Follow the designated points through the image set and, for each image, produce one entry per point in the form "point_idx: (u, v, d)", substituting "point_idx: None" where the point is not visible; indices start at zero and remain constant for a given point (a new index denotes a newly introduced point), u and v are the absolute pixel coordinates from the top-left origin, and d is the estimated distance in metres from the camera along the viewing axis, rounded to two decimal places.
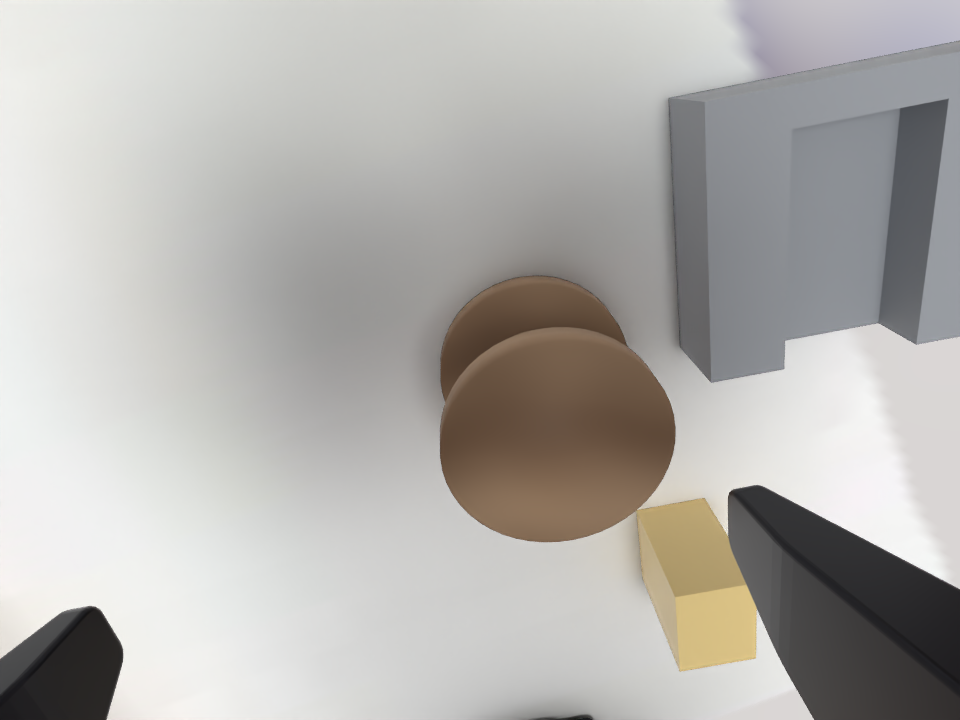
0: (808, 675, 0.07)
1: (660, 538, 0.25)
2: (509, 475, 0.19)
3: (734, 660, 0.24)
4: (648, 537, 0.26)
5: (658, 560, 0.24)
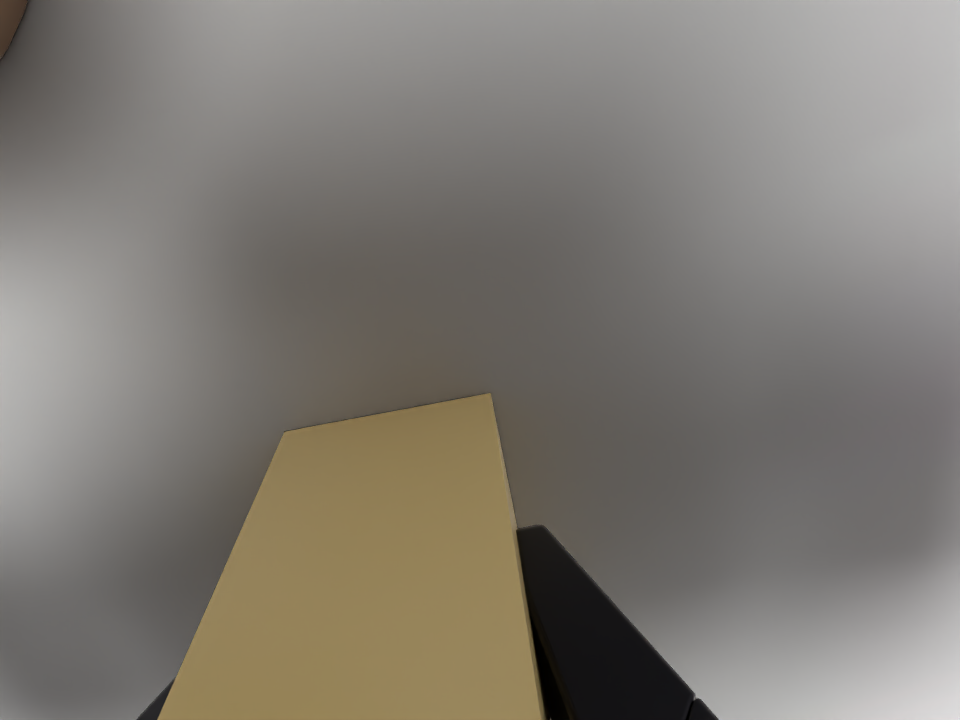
0: (553, 719, 0.07)
1: (282, 514, 0.07)
2: None
3: None
4: (252, 511, 0.07)
5: (217, 598, 0.06)
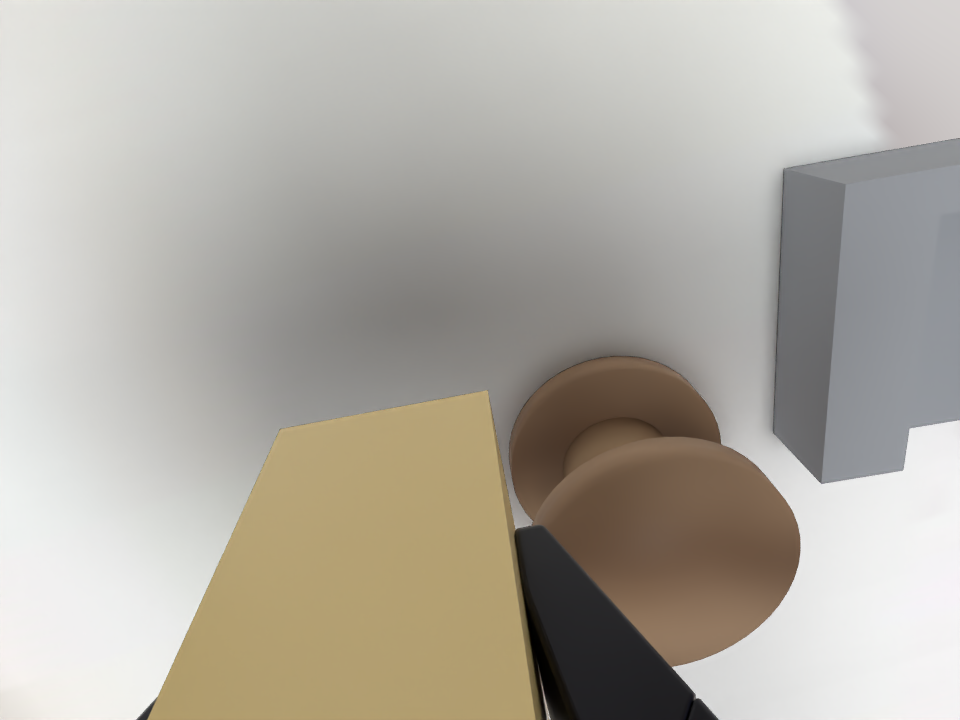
0: (553, 719, 0.07)
1: (276, 511, 0.07)
2: None
3: None
4: (247, 508, 0.07)
5: (210, 595, 0.06)
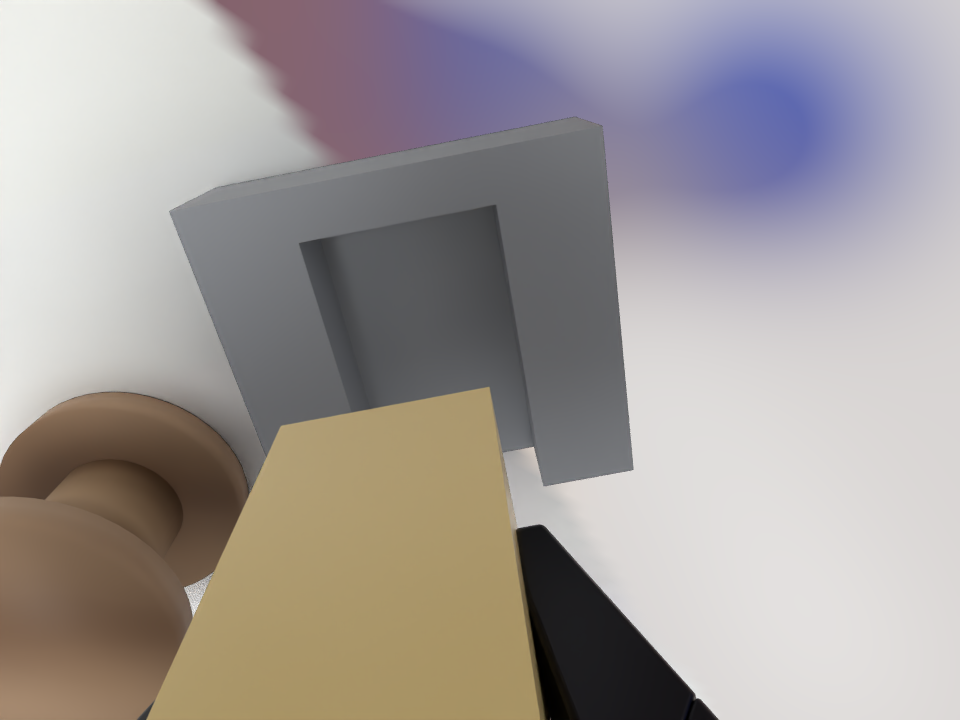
0: (553, 719, 0.07)
1: (278, 508, 0.07)
2: None
3: None
4: (248, 505, 0.07)
5: (211, 592, 0.06)
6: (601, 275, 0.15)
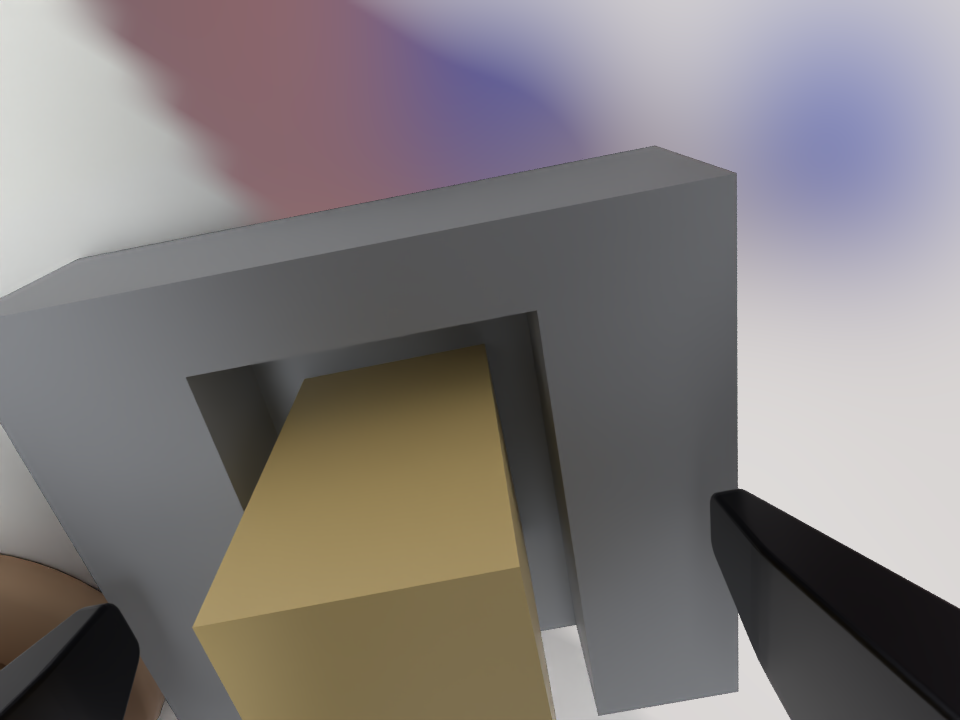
0: (786, 679, 0.07)
1: (306, 437, 0.08)
2: None
3: None
4: (281, 437, 0.09)
5: (256, 498, 0.07)
6: (712, 421, 0.09)
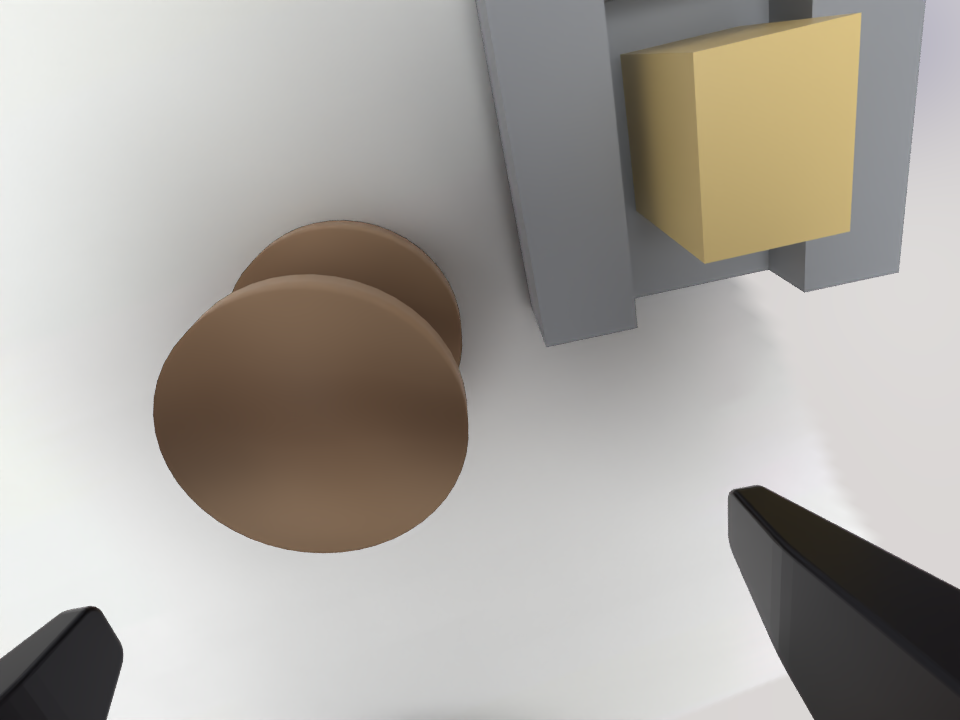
0: (808, 675, 0.07)
1: (662, 49, 0.14)
2: (257, 470, 0.14)
3: (810, 235, 0.13)
4: (640, 56, 0.14)
5: (659, 57, 0.13)
6: (907, 37, 0.14)
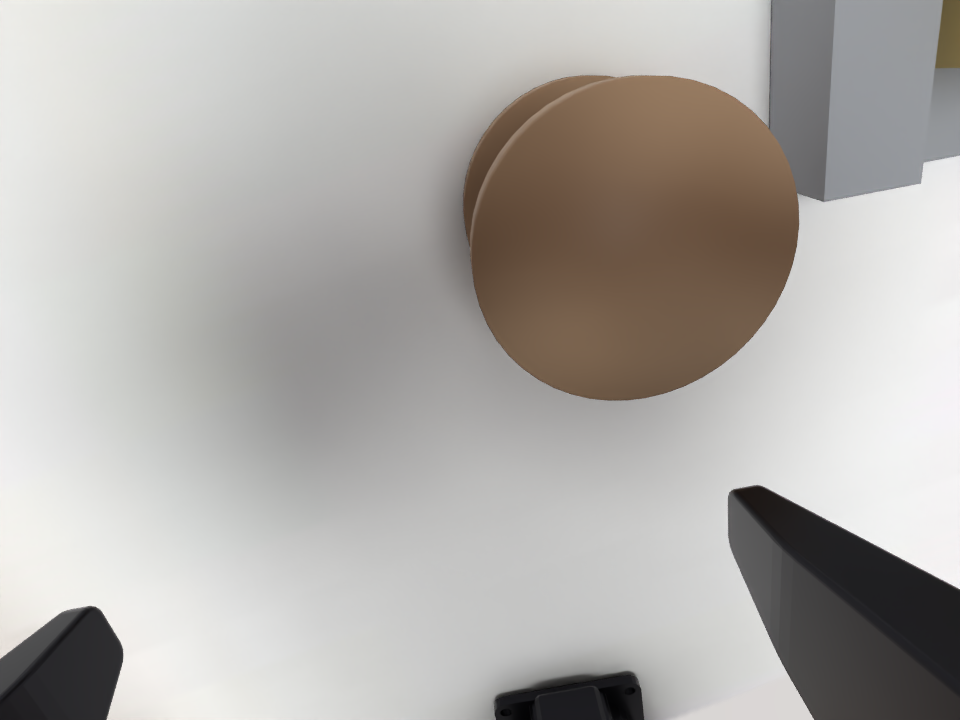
0: (808, 675, 0.07)
1: None
2: (566, 296, 0.13)
3: None
4: None
5: None
6: None
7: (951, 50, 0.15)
